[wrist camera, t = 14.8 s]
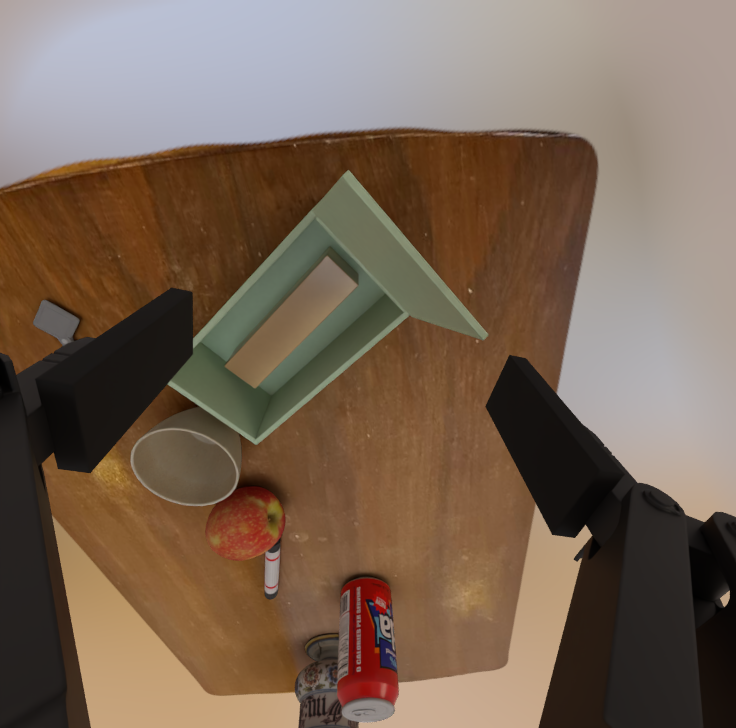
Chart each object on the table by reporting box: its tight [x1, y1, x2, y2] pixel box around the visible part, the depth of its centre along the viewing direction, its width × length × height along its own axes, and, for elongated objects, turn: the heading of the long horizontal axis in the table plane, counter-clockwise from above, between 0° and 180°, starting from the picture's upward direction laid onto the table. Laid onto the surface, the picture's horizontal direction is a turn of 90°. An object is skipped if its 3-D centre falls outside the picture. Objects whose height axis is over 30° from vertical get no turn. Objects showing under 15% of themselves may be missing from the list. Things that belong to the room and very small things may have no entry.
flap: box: [312, 170, 488, 340], centre depth 20 cm, size 9×10×1 cm
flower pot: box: [131, 407, 242, 506], centre depth 38 cm, size 10×10×7 cm
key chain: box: [33, 300, 79, 346], centre depth 36 cm, size 14×8×1 cm, turn 178°
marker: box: [265, 539, 280, 599], centre depth 52 cm, size 15×2×2 cm, turn 171°
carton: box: [168, 207, 410, 445], centre depth 31 cm, size 18×10×8 cm, turn 133°
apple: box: [205, 486, 285, 560], centre depth 43 cm, size 8×8×8 cm
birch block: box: [224, 247, 359, 388], centre depth 33 cm, size 4×14×4 cm, turn 135°
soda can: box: [337, 577, 399, 722], centre depth 50 cm, size 8×8×15 cm
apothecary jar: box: [295, 634, 359, 728], centre depth 58 cm, size 12×12×18 cm
